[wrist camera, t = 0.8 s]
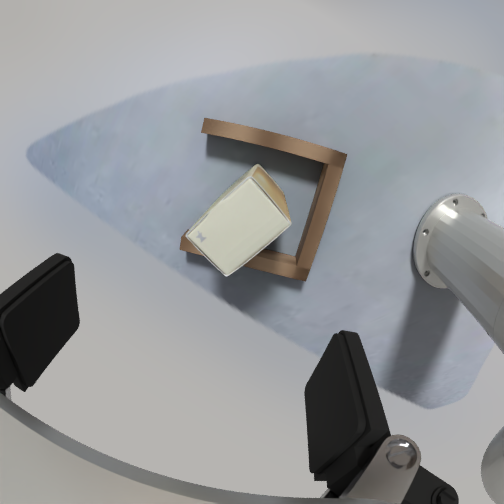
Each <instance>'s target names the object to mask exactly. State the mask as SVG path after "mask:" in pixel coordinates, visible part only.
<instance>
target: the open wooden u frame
mask: <svg viewBox="0 0 504 504" xmlns="http://www.w3.org/2000/svg"><path fill="white" fill-rule="evenodd" d="M201 133H206V134H211V135H216V136H221V137H226V138H231V139H236V140H240V141H245V142H249V143H253V144H257V145H262V146H266V147H270V148H273V149H277V150H281V151H285V152H289V153H292V154H296V155H299V156H303V157H306V158H310V159H313V160H316V161H320V162H323V163H324V165H323V168H322V172H321V175H320V178H319V182H318V185H317V189H316V192H315V195H314V199H313V202H312V205H311V209H310V212H309V215H308V218H307V221H306V225H305V228H304V231H303V234H302V237H301V240H300V243H299V247H298V250H297V253H296V256H291V255H287V254H283V253H279V252H275V251H271V250H268V249H263V250H262V251H260V252H259V253H258V254H257V255H255V256H254V257H253V258H252V259H251V260H249V261H248V262H247V263H246V264H244V265H243V266H245V267H249V268H253V269H257V270H261V271H265V272H269V273H273V274H277V275H281V276H285V277H289V278H293V279H297V280H302V281H306V279H307V277H308V274H309V271H310V268H311V266H312V263H313V260H314V257H315V254H316V251H317V249H318V246H319V243H320V240H321V237H322V234H323V231H324V228H325V225H326V222H327V219H328V216H329V213H330V210H331V207H332V203H333V200H334V197H335V194H336V191H337V187H338V184H339V181H340V178H341V174H342V171H343V167H344V164H345V161H346V157H347V154H345V153H342V152H339V151H336V150H332V149H329V148H326V147H323V146H320V145H317V144H313V143H310V142H307V141H303V140H300V139H296V138H292V137H289V136H285V135H281V134H277V133H273V132H269V131H265V130H261V129H257V128H253V127H248V126H244V125H239V124H234V123H229V122H224V121H219V120H214V119H208V118H204V122H203V127H202V131H201ZM188 231H189V230H187V231H186V232H185V233H184V235H183V236H182V237H181V243H180V250H183V251H187V252H191V253H195V254H198V255H202V256H204V255H203V254H202V253H201V252H200V251H199V250H198V249H197V248H196V247H195V246H194V245H193V244H192V242H191V241H190V240H189V239H188V238H187V237H186V233H187V232H188Z"/></svg>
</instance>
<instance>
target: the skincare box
mask: <svg viewBox="0 0 504 504" xmlns="http://www.w3.org/2000/svg"><path fill="white" fill-rule="evenodd" d="M289 226H291V220H290V216H289V211H288V208H287V203H286V200H285V196H284V192H283V191H282V190H281V189H280V187H279V186H278V185H277V184H276V182H275V181H274V180H273V179H272V178H271V177H270V175H269V174H268V173H267V172H266V171H265V170H264V169H263V168H262V167H261V166H260V165H259V164H256V165H255V166H253V167H252V168H251V169H250V170H248V171H247V172H246V173H245V174H244V175H243V176H241V177H240V178H239V179H238V180H237V181H236V182H235V183H234V184H233V185H231V186H230V187H229V188H228V189H227V190H226V191H225V192H224V193H223V194H222V195H221V196H220V197H219V198H218V199H217V200H216V201H215V202H214V203H213V204H212V206H211V207H210V208H209V209H208V210H207V211H206V212H205V213H204V214H203V215H202V216H201V218H200V219H199V220H198V221H197V222H196V223H195V224H194V225H193V226H192V228H191V229H190V230H189V231H188V232H187V233H186V237H187V238H188V239H189V240H190V241H191V242H192V244H193V245H194V246H195V247H196V248H197V249H198V250H199V251H200V252H201V253H202V254H203V255H204V256H205V257H206V258H207V259H208V260H209V261H210V262H211V263H212V264H213V265H214V266H215V267H216V268H217V269H218V270H219V271H220V272H221V273H222V274H223V275H225V276H229V275H231V274H232V273H233V272H235V271H236V270H238V269H239V268H240V267H242V266H243V265H244V264H246V263H247V262H248V261H249V260H251V259H252V258H253V257H254V256H255V255H257V254H258V253H259V252H260V251H262V250H263V249H264V248H265V247H266V246H268V245H269V244H270V243H271V242H272V241H273V240H275V239H276V238H277V237H278V236H279V235H280V234H282V233H283V232H284V231H285V230H286V229H287V228H288V227H289Z"/></svg>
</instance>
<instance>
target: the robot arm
mask: <svg viewBox="0 0 504 504" xmlns="http://www.w3.org/2000/svg"><path fill="white" fill-rule="evenodd" d="M413 252H414V261H415V266H416V268H417V270H418V272H419V274H420V275H421V277H422V278H423V279H424V280H425V281H426V282H427V283H428V284H430V285H431V286H433V287H436V288H439V289H447V288H449V289H450V290H451V291H452V292H453V294H454V295H455V296H456V297H457V298H458V299H459V300H460V301H461V303H462V304H463V305H464V306H465V307H466V308H467V309H468V311H469V312H470V313H471V314H472V315H473V316H474V318H475V319H476V320H477V321H478V322H479V324H480V325H481V326H482V327H483V329H484V330H485V331H486V332H487V334H488V335H489V336H490V337H491V338H492V340H493V341H494V342H495V343H496V345H497V346H498V347H499V349H500V350H501V351H502V353H503V354H504V228H503V227H501V226H499V225H498V224H496V223H494V222H492V221H490V220H488V218H487V215H486V212H485V211H484V209H483V207H482V206H481V205H480V203H479V202H478V201H476V200H475V199H474V198H472V197H470V196H467V195H464V194H451V195H447V196H445V197H443V198H441V199H439V200H438V201H437V202H436V203H434V204H433V205H432V206H431V207H430V209H429V210H428V211H427V212H426V213H425V215H424V217H423V218H422V220H421V222H420V224H419V227H418V229H417V232H416V236H415V239H414V248H413ZM79 323H80V320H79V312H78V304H77V295H76V284H75V271H74V264H73V263H72V261H71V259H70V258H69V257H67V256H64V255H62V254H59V253H56V254H54V255H52V256H51V257H50V258H48V259H47V260H45V261H44V262H43V263H41V264H40V265H38V266H37V267H35V268H34V269H33V270H31V271H30V272H29V273H27V274H26V275H25V276H23V277H22V278H21V279H19V280H18V281H17V282H15V283H14V284H13V285H12V286H10V287H9V288H8V289H6V290H5V291H4V292H3V293H2V294H0V504H458V495H457V493H456V491H455V489H454V488H453V487H452V486H450V485H449V484H447V483H446V482H444V481H443V480H441V479H439V478H438V477H437V476H435V475H434V474H432V473H430V472H429V471H428V470H426V469H424V468H423V467H422V466H420V462H421V453H420V451H419V448H418V446H417V445H416V443H415V442H414V441H412V440H411V439H410V438H408V437H406V436H403V435H392V436H391V434H390V431H389V427H388V424H387V420H386V417H385V413H384V410H383V406H382V403H381V400H380V397H379V393H378V390H377V387H376V384H375V381H374V378H373V375H372V372H371V369H370V366H369V363H368V360H367V357H366V354H365V352H364V349H363V346H362V343H361V340H360V337H359V335H358V333H355V332H349V331H344V330H342V331H340V332H339V333H338V334H337V333H336V334H334V335H333V337H332V339H331V340H330V342H329V344H328V346H327V348H326V350H325V352H324V354H323V356H322V357H321V359H320V361H319V363H318V365H317V367H316V368H315V370H314V372H313V374H312V376H311V377H310V379H309V381H308V382H307V384H306V387H305V405H306V418H307V419H306V420H307V435H308V451H309V469H310V472H311V473H314V481H327V488H328V489H327V490H326V491H325V493H324V494H323V495H322V496H321V497H320V498H293V497H278V496H267V495H256V494H248V493H240V492H234V491H227V490H222V489H216V488H211V487H206V486H202V485H197V484H193V483H189V482H185V481H181V480H177V479H173V478H170V477H167V476H163V475H160V474H157V473H153V472H150V471H147V470H144V469H142V468H138V467H136V466H133V465H130V464H128V463H125V462H123V461H120V460H117V459H115V458H113V457H110V456H108V455H106V454H103V453H101V452H99V451H97V450H94V449H92V448H90V447H88V446H86V445H84V444H82V443H80V442H78V441H76V440H74V439H72V438H70V437H68V436H66V435H64V434H63V433H61V432H59V431H57V430H55V429H54V428H52V427H50V426H49V425H47V424H45V423H44V422H42V421H40V420H39V419H37V418H36V417H34V416H32V415H31V414H29V413H28V412H26V411H25V410H23V409H22V408H20V407H19V406H18V405H16V404H15V403H13V402H12V401H11V392H10V385H11V384H12V383H14V385H15V386H16V387H18V388H19V389H21V390H22V391H24V392H25V391H26V390H27V388H28V387H31V386H33V385H34V384H35V382H36V381H37V379H38V378H39V377H40V375H41V374H42V373H43V371H44V370H45V369H46V368H47V366H48V365H49V364H50V362H51V361H52V360H53V359H54V357H55V356H56V355H57V354H58V352H59V351H60V350H61V349H62V347H63V346H64V345H65V343H66V342H67V341H68V340H69V339H70V338H71V336H72V335H73V334H74V333H75V332H76V330H77V329H78V327H79ZM481 476H482V481H483V485H484V487H485V490H486V492H487V493H488V495H489V496H490V498H491V499H492V500H493V501H494V502H495V503H496V504H504V427H503V428H502V429H501V430H500V431H499V432H498V433H497V434H496V436H495V437H494V438H493V440H492V441H491V443H490V444H489V446H488V448H487V449H486V452H485V454H484V456H483V460H482V465H481Z"/></svg>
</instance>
